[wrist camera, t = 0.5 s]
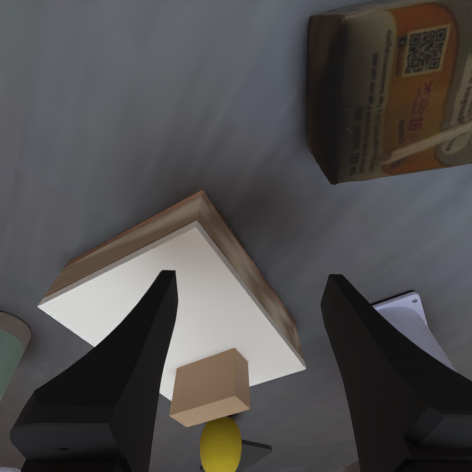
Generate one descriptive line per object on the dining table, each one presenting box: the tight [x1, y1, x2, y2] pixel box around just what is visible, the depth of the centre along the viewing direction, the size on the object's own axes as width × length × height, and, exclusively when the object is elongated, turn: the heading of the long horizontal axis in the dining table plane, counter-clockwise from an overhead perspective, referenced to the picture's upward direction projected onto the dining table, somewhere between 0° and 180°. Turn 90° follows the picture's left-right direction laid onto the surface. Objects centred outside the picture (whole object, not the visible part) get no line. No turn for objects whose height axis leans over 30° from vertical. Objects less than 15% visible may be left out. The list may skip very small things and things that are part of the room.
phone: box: [200, 440, 272, 472], centre depth 52 cm, size 7×1×15 cm
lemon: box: [200, 416, 242, 472], centre depth 39 cm, size 6×6×8 cm
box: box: [45, 190, 303, 359], centre depth 27 cm, size 18×14×4 cm
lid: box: [37, 221, 306, 427], centre depth 23 cm, size 18×14×5 cm
